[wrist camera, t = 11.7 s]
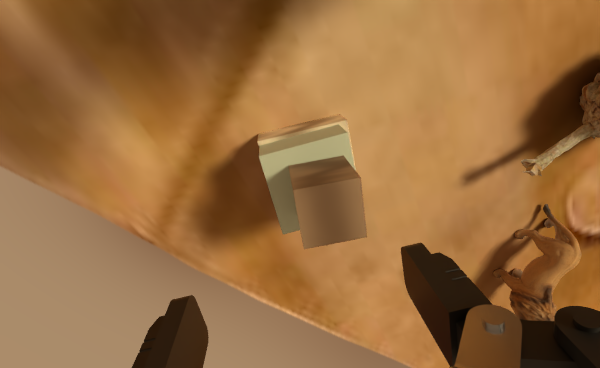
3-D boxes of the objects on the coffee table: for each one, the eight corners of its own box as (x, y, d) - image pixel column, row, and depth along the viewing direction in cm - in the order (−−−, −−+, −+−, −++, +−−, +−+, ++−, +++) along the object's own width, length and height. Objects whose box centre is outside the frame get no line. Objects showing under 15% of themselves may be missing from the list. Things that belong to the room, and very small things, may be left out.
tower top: (338, 124, 34) (347, 132, 30) (354, 196, 36) (364, 212, 33) (259, 145, 34) (258, 156, 30) (281, 216, 36) (283, 234, 33)
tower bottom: (339, 113, 37) (347, 119, 33) (352, 188, 40) (361, 201, 37) (258, 133, 37) (257, 141, 33) (278, 206, 40) (279, 221, 37)
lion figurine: (515, 299, 48) (567, 351, 40) (481, 296, 47) (527, 347, 39) (560, 204, 43) (630, 240, 35) (522, 199, 43) (585, 234, 34)
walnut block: (343, 155, 30) (360, 177, 25) (349, 205, 32) (367, 237, 27) (288, 165, 30) (292, 190, 25) (297, 215, 32) (303, 249, 27)
